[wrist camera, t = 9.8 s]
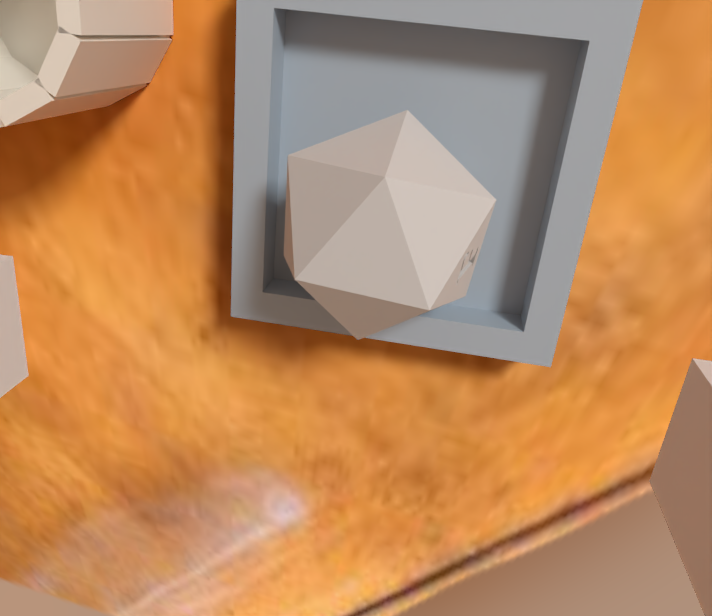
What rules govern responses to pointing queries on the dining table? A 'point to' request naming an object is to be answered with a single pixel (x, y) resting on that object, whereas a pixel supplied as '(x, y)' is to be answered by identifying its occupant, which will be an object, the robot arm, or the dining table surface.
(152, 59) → the cup
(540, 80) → the tray
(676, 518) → the robot arm
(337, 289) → the die
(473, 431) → the dining table surface
